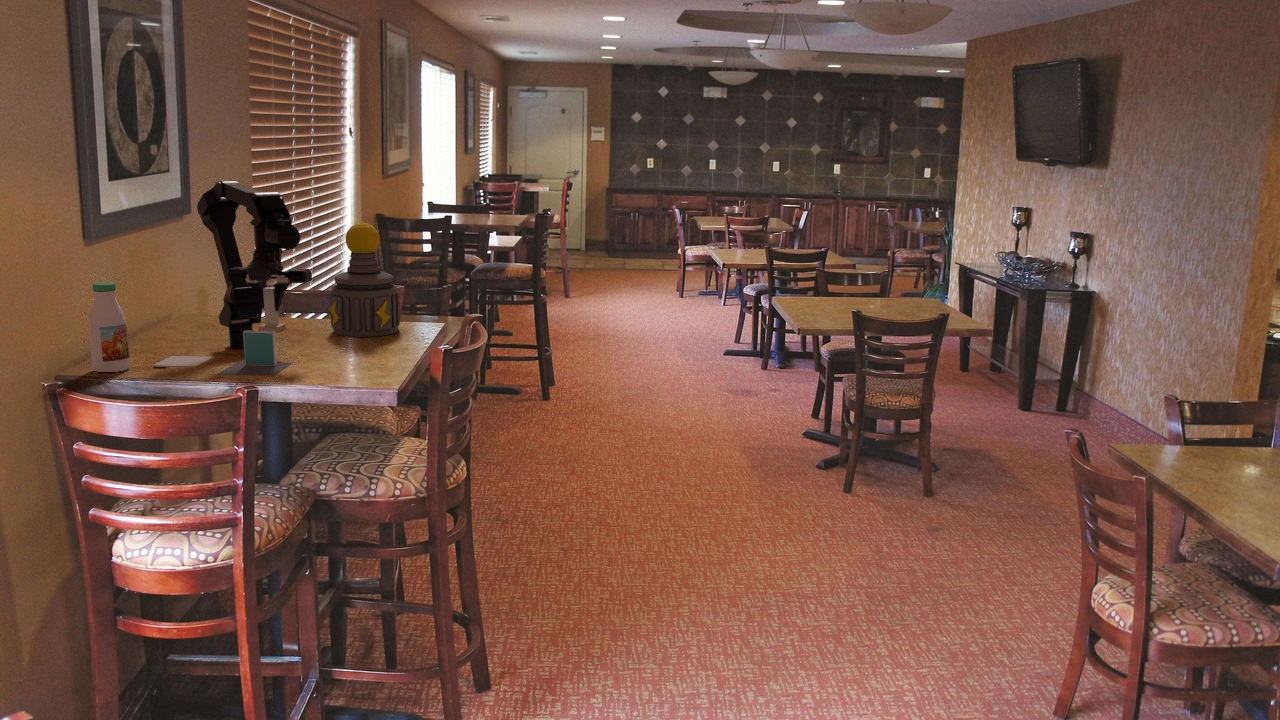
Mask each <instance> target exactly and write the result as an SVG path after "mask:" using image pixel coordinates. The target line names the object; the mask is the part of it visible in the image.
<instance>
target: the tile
mask: <svg viewBox="0 0 1280 720" xmlns="http://www.w3.org/2000/svg"><path fill="white" fill-rule="evenodd" d="M243 339H244V349H243V352H244V355H243V356H244V362H245V365H253V366H276V365H277V362H278V349H277V333H276V331H259V330H253V331H250V330H245V331H243Z"/></svg>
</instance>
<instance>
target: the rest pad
mask: <svg viewBox="0 0 1280 720" xmlns="http://www.w3.org/2000/svg"><path fill="white" fill-rule="evenodd" d="M213 358H214V356H198V355H197V356H196V355H194V356H191V355H189V356H188V355H187V356H186V355H171V356H168V357H166V358H164V359H162V360H161V361H158V362H156V363H154V364H153V365H152V368H153V367H168V368H169V367H193V368H194V367H199V366H200V365H202V364H204V363H205V362H207V361H210V360H211V359H213Z"/></svg>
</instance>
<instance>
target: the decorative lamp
mask: <svg viewBox="0 0 1280 720" xmlns="http://www.w3.org/2000/svg"><path fill="white" fill-rule="evenodd" d="M380 239H381V236H380V234H379V232H378V230H377V229H376V228H375V227H374V226H373V225H372V224H370V223H368V222H358V223H355V224H353V225H351V226H350V227H349V228H348V230H347V231H346V233H345V245H346V247H347V249H348V250H349V251H350V252H351V253H350V256H349V258H350V259H349V261H348V265H349V266H348V267H347V269H346V271H345V272H340V273H339V274H337V275H335V276H334V283H336V284H334V285H332V286H331V292H330V293H329V304H330V305H329V307H330V308H329V312H330V326H331V327H332V329H333V334H335V335H338V336H341V337H347V338H376V337H385V336H389V335H393V334H395V333H396V332H397V331H398V330H399V326H400V324H401V317H400V315H401V312H400V311H401V310H400V292H399V291H398V286H397V285H396V284H394V283H393V282H394V276H393V275H392V274H390V273H388V272H386V271H381V268H380V266H379V265H378V264H379V261H378V259H377V254H376V251H377V250H378V249H379V246H380V243H381V240H380Z"/></svg>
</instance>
